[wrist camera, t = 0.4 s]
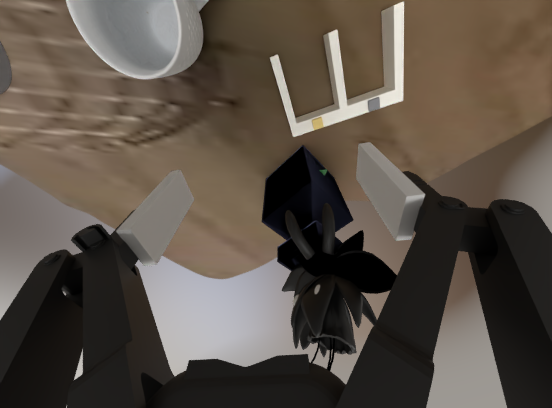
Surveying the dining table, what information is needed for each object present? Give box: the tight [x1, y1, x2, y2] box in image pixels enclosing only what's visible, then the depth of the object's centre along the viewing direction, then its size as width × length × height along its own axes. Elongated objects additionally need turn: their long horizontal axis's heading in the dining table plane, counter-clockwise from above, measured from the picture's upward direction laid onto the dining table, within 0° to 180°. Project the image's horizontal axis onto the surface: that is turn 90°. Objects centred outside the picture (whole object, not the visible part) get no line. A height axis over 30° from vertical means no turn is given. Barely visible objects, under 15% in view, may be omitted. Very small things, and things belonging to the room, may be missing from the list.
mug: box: [66, 0, 209, 79], centre depth 25 cm, size 15×11×13 cm
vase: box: [262, 145, 397, 371], centre depth 30 cm, size 14×12×35 cm
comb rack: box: [270, 2, 404, 137], centre depth 33 cm, size 12×18×5 cm, turn 109°
